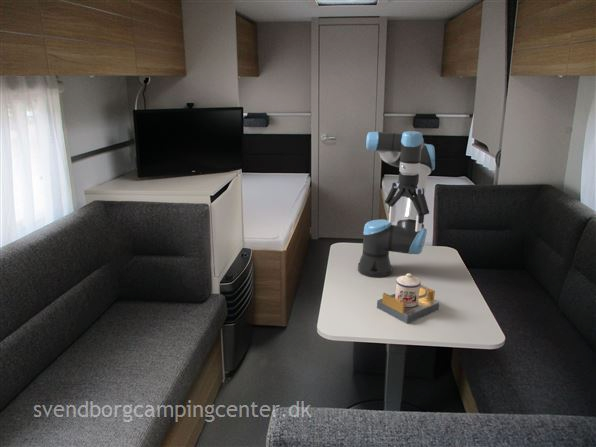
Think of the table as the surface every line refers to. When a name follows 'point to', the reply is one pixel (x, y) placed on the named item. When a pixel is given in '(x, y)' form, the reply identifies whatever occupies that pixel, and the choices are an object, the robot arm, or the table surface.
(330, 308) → the table surface
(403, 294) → the teacup with lid
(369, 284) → the table surface
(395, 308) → the grey tray
